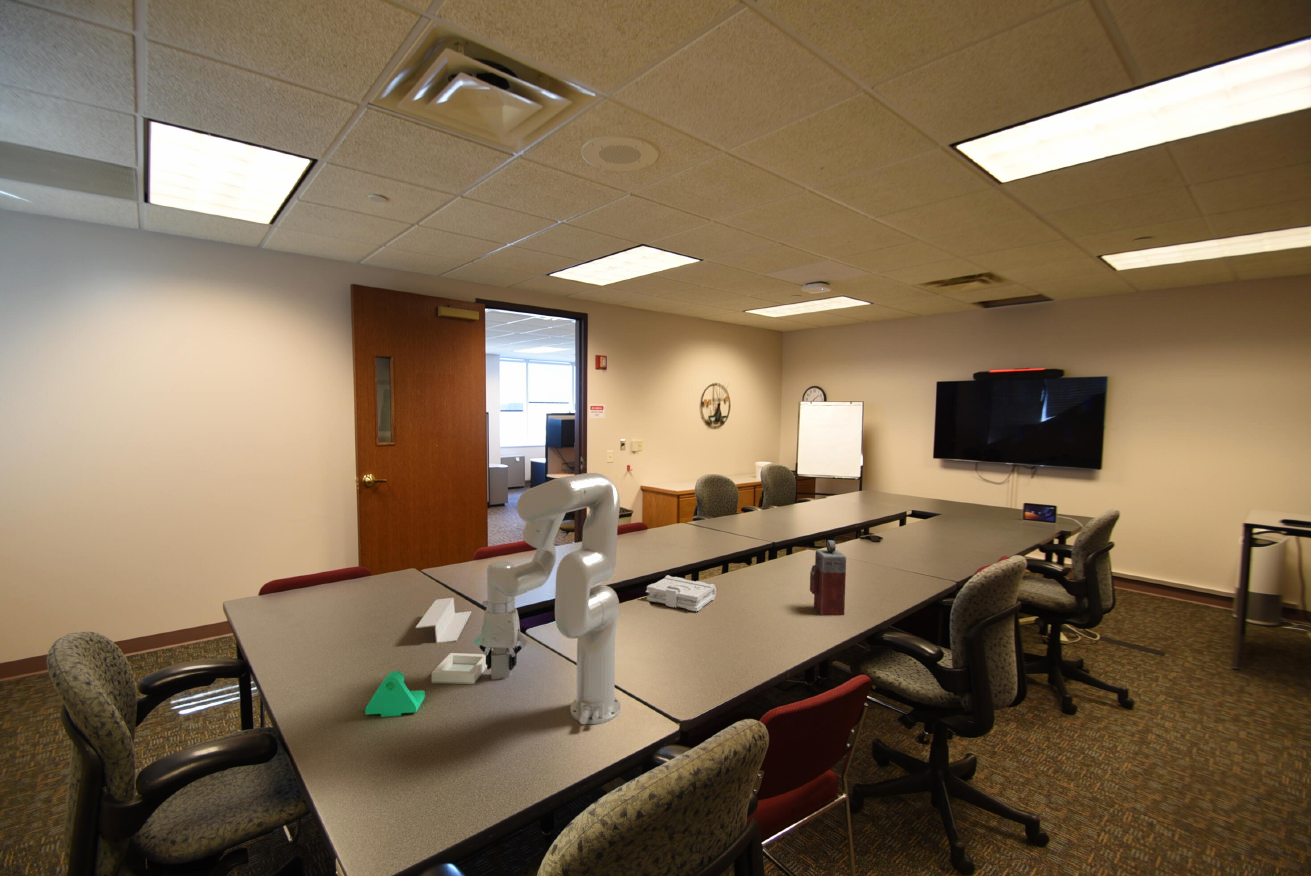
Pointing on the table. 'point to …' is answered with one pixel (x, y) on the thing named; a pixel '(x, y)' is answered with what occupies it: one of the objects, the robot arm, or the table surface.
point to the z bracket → (444, 620)
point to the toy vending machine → (829, 581)
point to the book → (681, 593)
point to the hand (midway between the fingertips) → (501, 666)
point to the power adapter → (500, 663)
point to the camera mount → (394, 697)
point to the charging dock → (460, 668)
